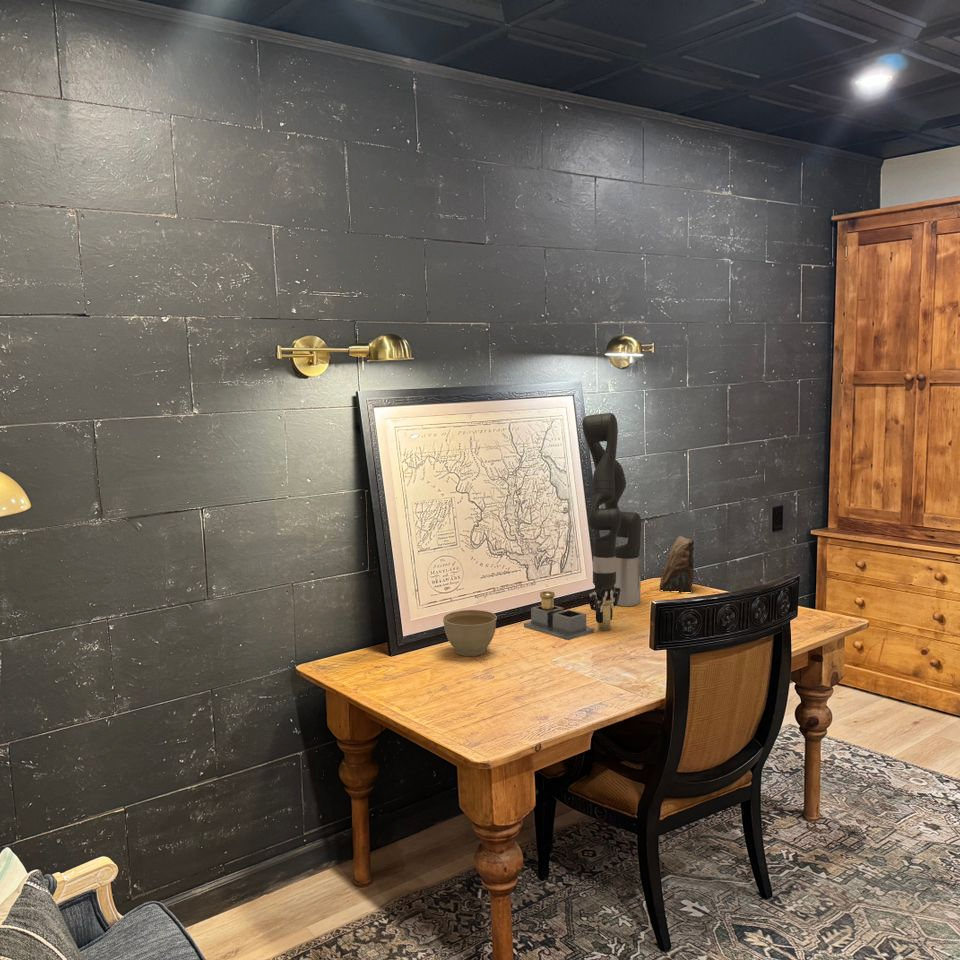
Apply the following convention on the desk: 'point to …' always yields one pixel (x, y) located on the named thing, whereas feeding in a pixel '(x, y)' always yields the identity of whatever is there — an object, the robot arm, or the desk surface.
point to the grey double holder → (557, 619)
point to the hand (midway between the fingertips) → (604, 620)
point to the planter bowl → (470, 631)
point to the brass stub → (605, 616)
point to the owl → (679, 567)
